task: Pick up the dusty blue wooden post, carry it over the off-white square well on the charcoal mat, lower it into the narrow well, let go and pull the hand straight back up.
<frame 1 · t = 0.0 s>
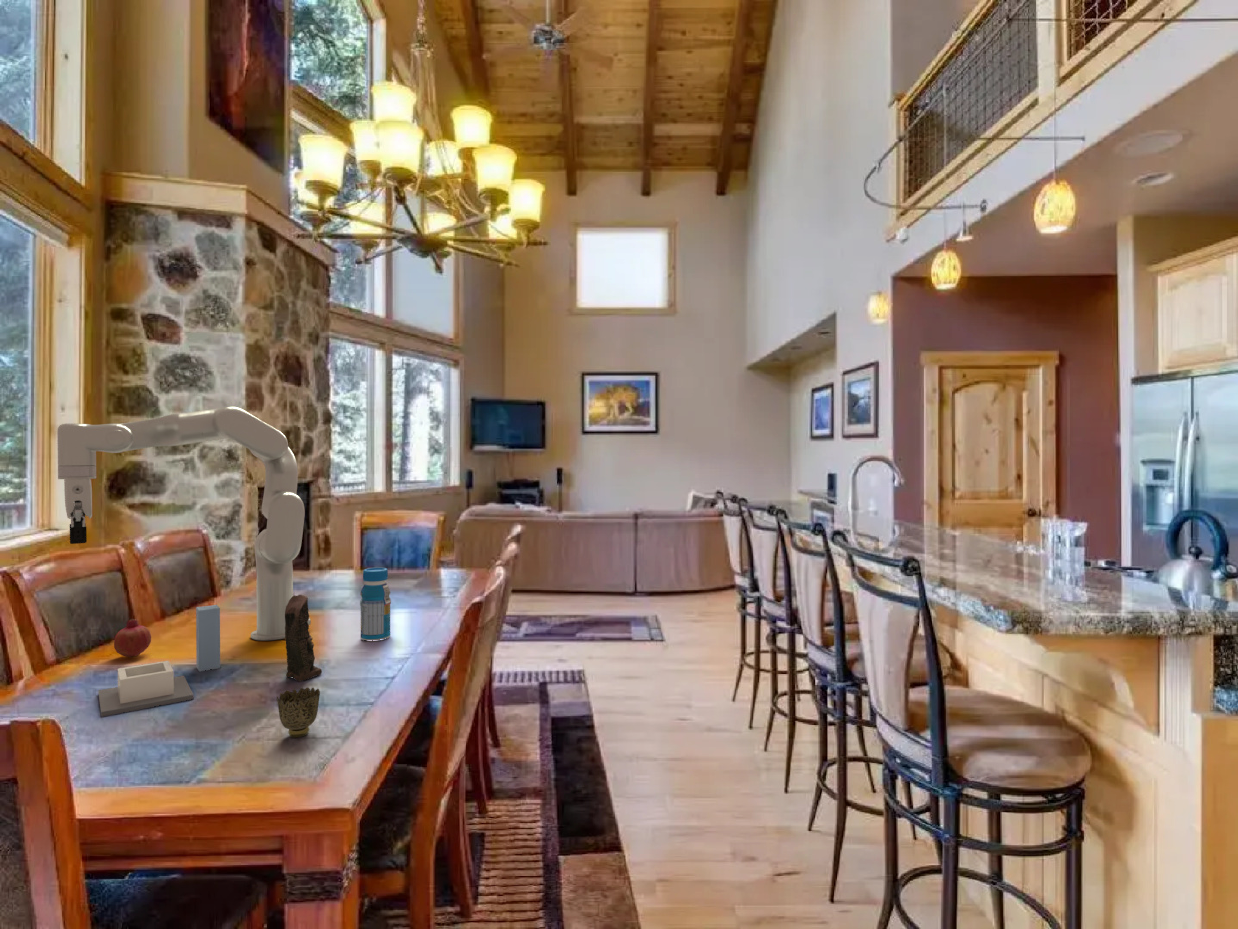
hand: (78, 541, 171), 31 cm above the table, tool pointing down, fingers open, 9 cm apart
statue: (300, 678, 163), on the table
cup: (298, 736, 130), on the table
beverage bottle: (375, 638, 197), on the table
post: (208, 667, 170), on the table
well: (145, 697, 150), on the table
fruit: (132, 657, 178), on the table
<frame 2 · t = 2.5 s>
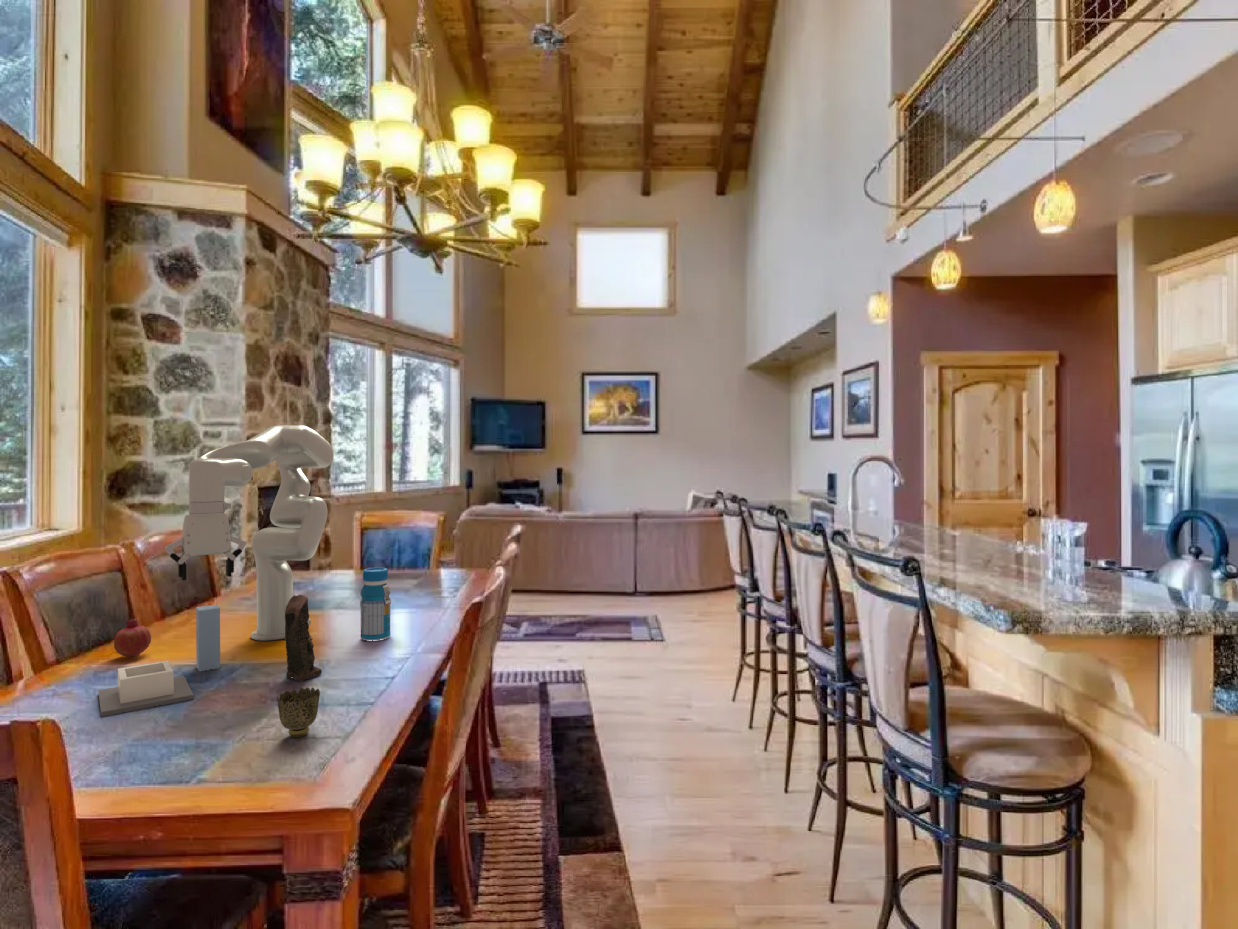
hand: (206, 577, 169), 23 cm above the table, tool pointing down, fingers open, 9 cm apart
nothing on the table moved.
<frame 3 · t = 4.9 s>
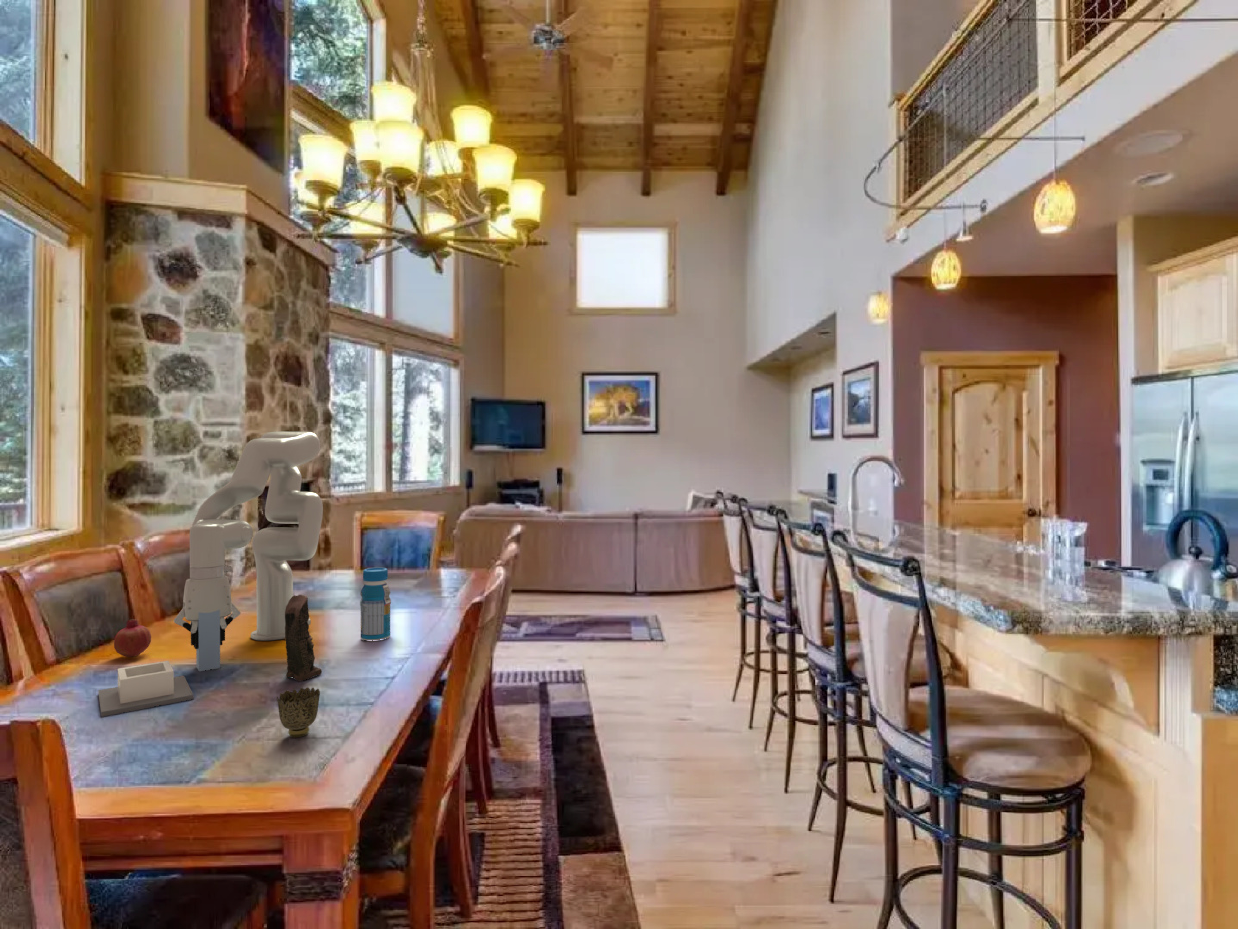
hand: (208, 645, 170), 6 cm above the table, tool pointing down, fingers closed on post, 4 cm apart
post: (208, 667, 170), on the table, touching gripper
everything else where it was.
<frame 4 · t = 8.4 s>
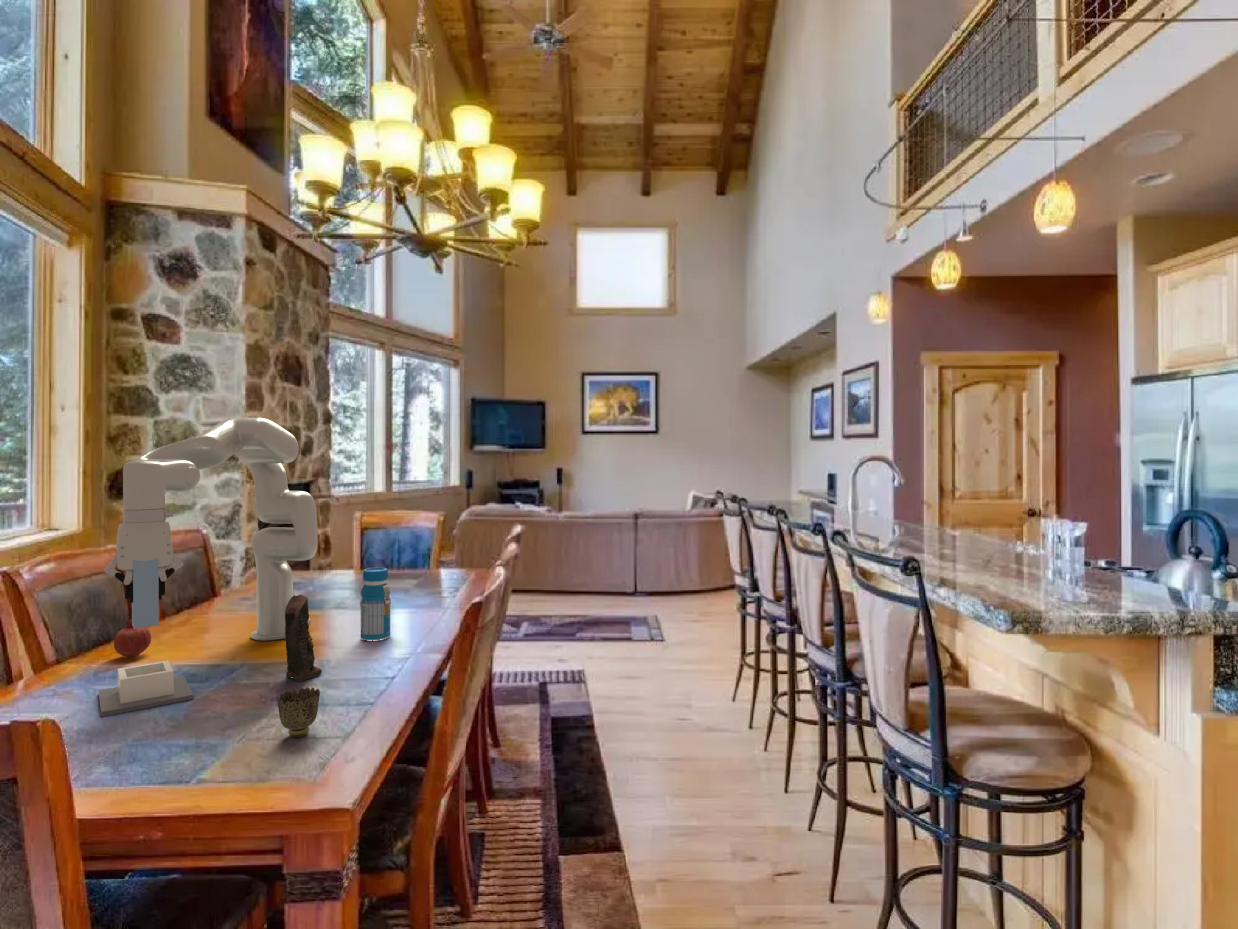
hand: (145, 599, 149), 21 cm above the table, tool pointing down, fingers closed on post, 4 cm apart
post: (145, 624, 149), point 16 cm above the table, touching gripper
everything else where it was.
when the fingers open (8 cm above the table, at t = 11.7 s): post drops 1 cm, resting on well.
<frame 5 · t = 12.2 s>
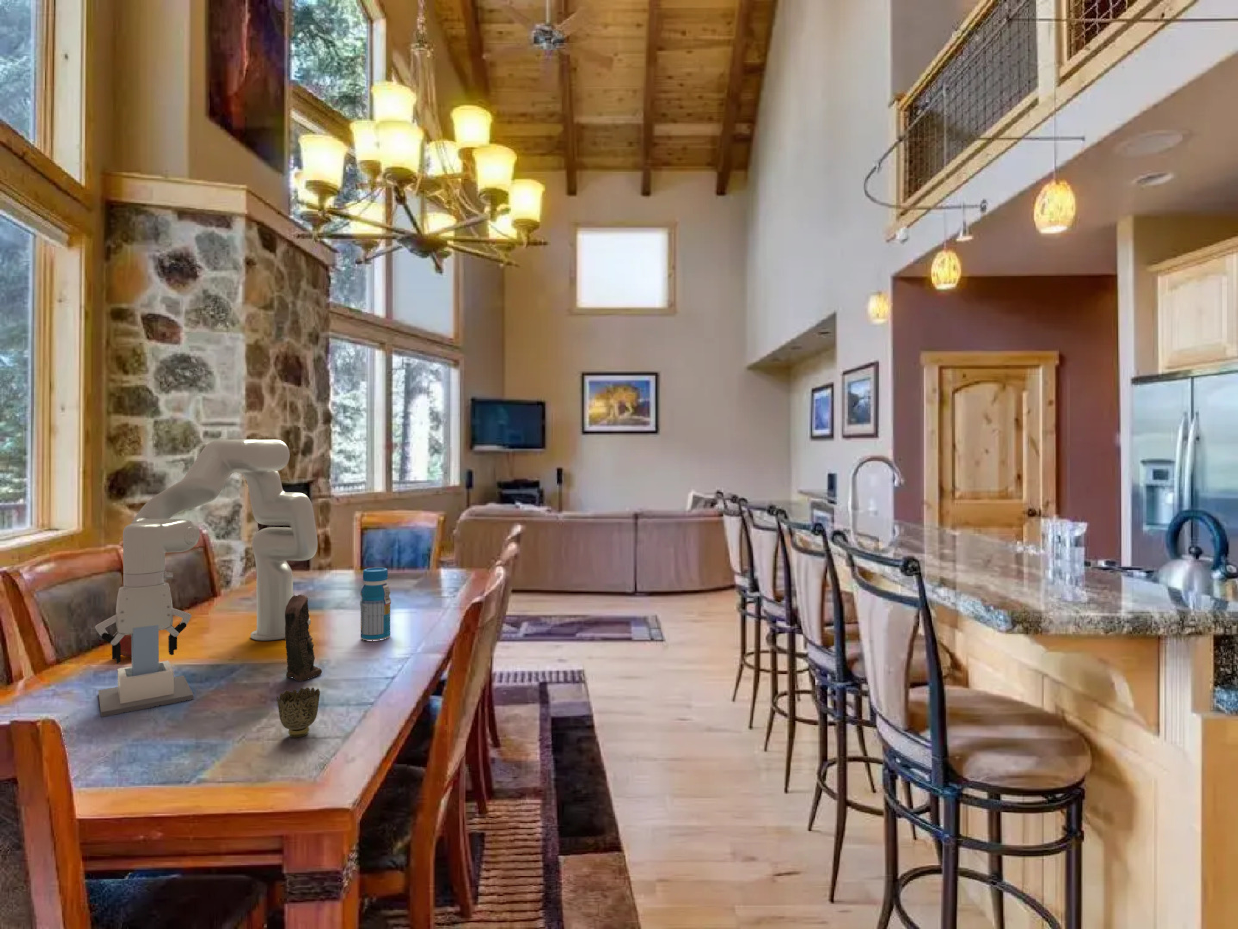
hand: (145, 657, 150), 9 cm above the table, tool pointing down, fingers open, 9 cm apart
post: (145, 692, 150), point 1 cm above the table, touching well
everything else where it was.
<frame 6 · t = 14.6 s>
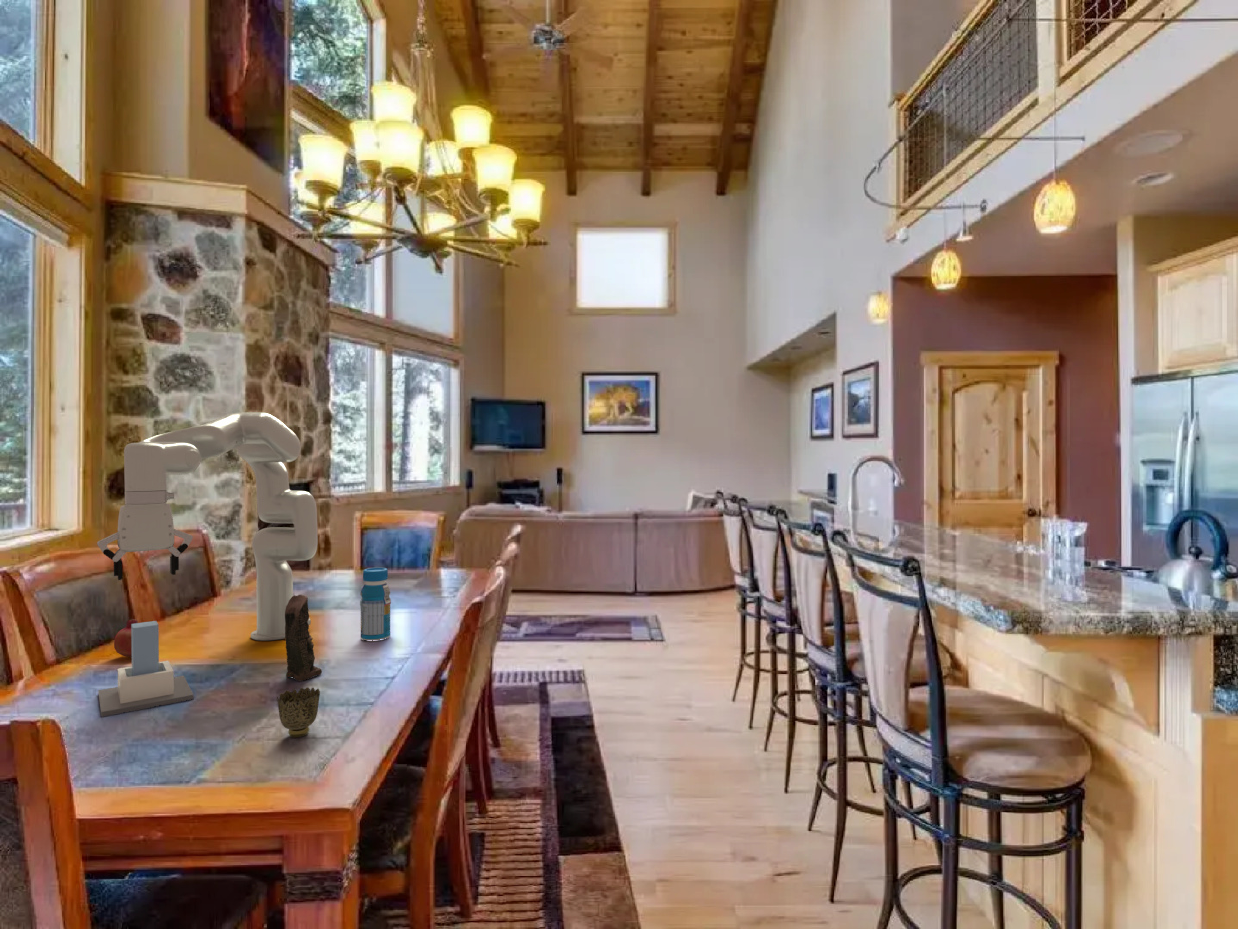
hand: (147, 576, 150), 26 cm above the table, tool pointing down, fingers open, 9 cm apart
nothing on the table moved.
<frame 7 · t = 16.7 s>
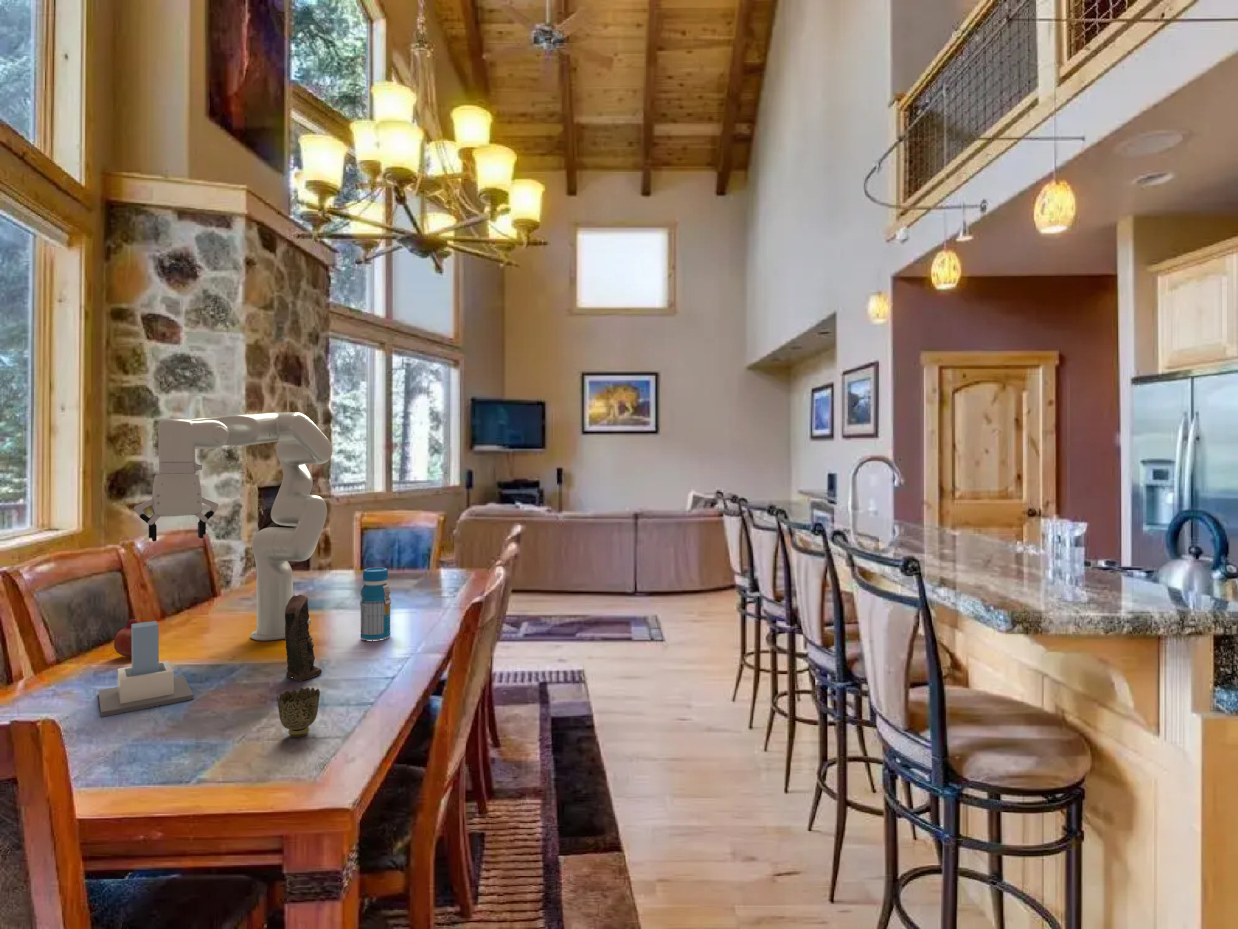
hand: (177, 539, 167), 32 cm above the table, tool pointing down, fingers open, 9 cm apart
nothing on the table moved.
at the end: post 0.1 cm off-centre on the well, point 1.0 cm above the well's base; post tilted 0°; the gripper is holding nothing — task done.
